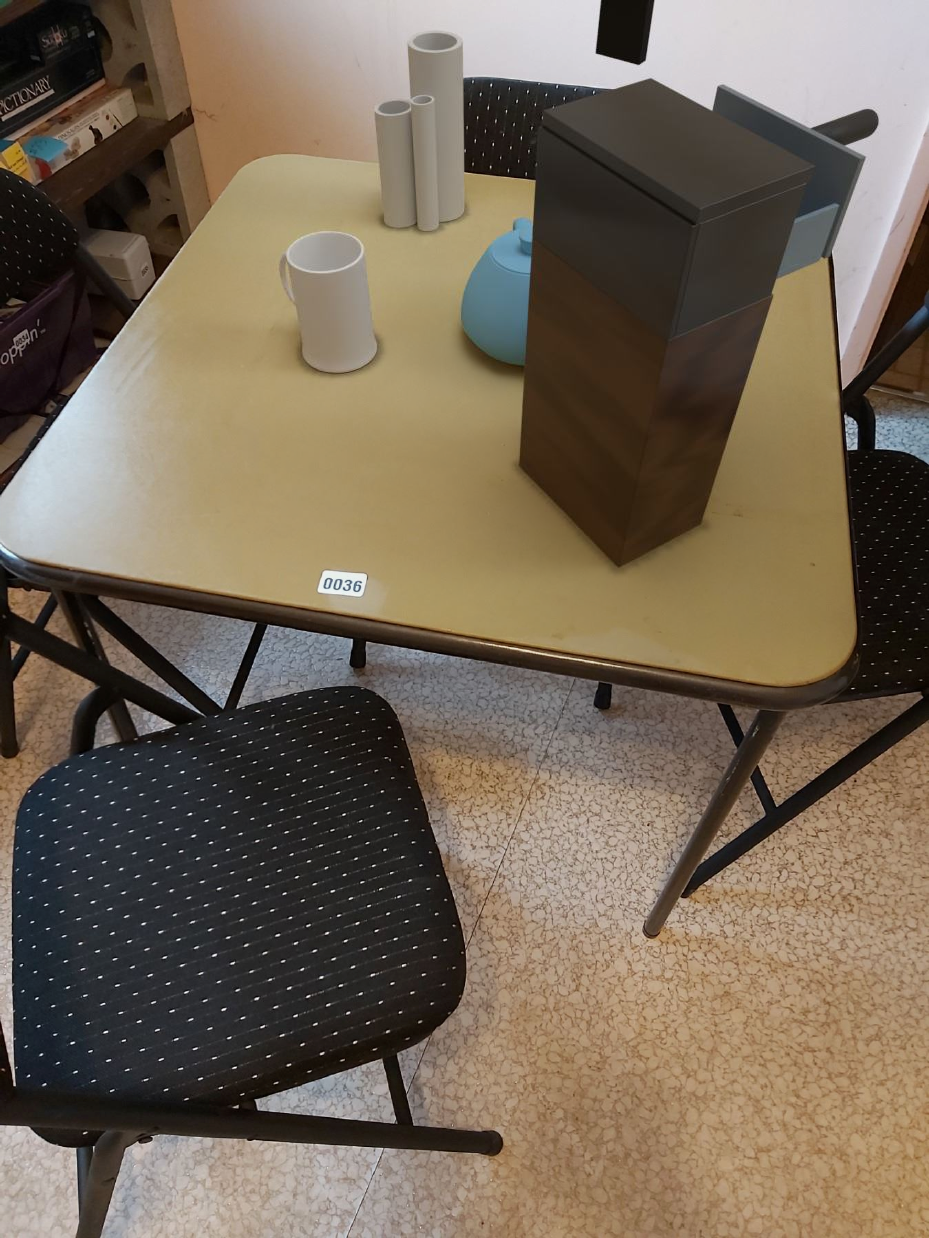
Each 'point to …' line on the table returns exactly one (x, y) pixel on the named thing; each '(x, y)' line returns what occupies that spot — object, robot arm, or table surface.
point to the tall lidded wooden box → (646, 305)
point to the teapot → (501, 296)
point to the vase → (424, 137)
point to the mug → (331, 300)
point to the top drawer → (830, 175)
